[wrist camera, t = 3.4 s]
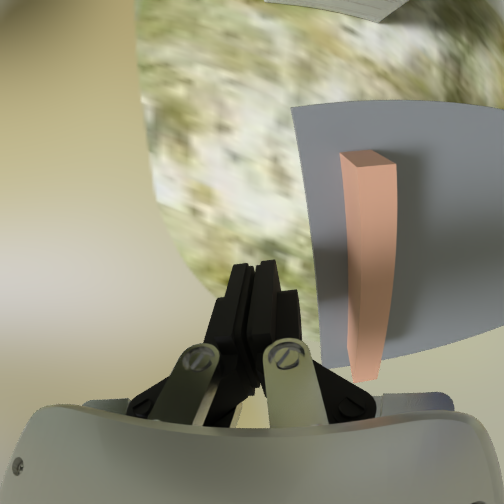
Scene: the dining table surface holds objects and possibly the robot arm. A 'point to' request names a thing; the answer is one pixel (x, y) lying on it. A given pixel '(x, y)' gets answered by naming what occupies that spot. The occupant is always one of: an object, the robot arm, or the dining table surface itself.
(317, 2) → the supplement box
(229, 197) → the dining table surface
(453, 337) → the lid
